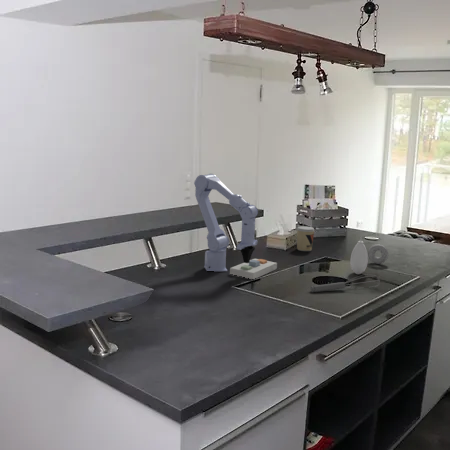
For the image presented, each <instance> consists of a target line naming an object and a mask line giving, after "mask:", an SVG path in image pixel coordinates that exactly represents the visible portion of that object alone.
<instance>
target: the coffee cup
mask: <svg viewBox="0 0 450 450" xmlns="http://www.w3.org/2000/svg"><path fill="white" fill-rule="evenodd" d="M296 232H297V233H296V243H297V244H296V246H297V247H296V249H297V250H298V251H301V252H311V251H312V250H313V242H314V236H315V232H316V231H315V228H314V227H312V226H306V225H305V226H303V225H301V226H297V228H296Z"/></svg>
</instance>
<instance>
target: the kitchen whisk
mask: <svg viewBox="0 0 450 450" xmlns="http://www.w3.org/2000/svg"><path fill="white" fill-rule="evenodd" d="M364 275H365V278H369V275H368V273H367V274H366V273H365V274H364ZM366 275H367V276H366ZM371 276H373V278H374V279H376V280H375V282H376V281H377V282H376V283H375V284H374V285H372V286H370V288H372V290H373V289H376V288H377V287H378V286H379V285H380V284H381V282H380V281H381V280H380V277H379V276H378V275H376V276H374V274H373V273H371ZM363 278H364V276H363V274H362V275H361V274H360V275H359V276H356V277H352V278H351V279H350V280H347V281H346V282H344V281H342V282H341V281H340V282H334V283H333V282H332V283H326V284H318V285H310V286H308V287H307V289H309V288H310V291H308V290H306V292H307V293H309V294H310V292H311V293H320V292H327V291H334V290H342V289H345V288H348V289H352V290H354V287H353V286H349V285H351V282H354V281H356V280H360V279H363ZM372 282H373V283H374V280H369V281H367V283H372ZM349 283H350V284H349ZM365 283H366V281H364V282H363V281H362V282H360V284H365ZM357 284H359V282H355V283H353V285H357ZM376 284H377V285H376ZM359 290H363V289H361V288H358V291H359Z"/></svg>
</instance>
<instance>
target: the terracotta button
mask: <svg viewBox="0 0 450 450" xmlns="http://www.w3.org/2000/svg"><path fill="white" fill-rule="evenodd" d="M258 259H259V260H257V261H260V263H261V264H265V263H267V261H268V260H267V259H263V258H258Z"/></svg>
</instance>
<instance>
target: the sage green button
mask: <svg viewBox="0 0 450 450" xmlns="http://www.w3.org/2000/svg"><path fill="white" fill-rule="evenodd" d="M241 269H243V270H251V269H252V266H248V265H244V266H241Z"/></svg>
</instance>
